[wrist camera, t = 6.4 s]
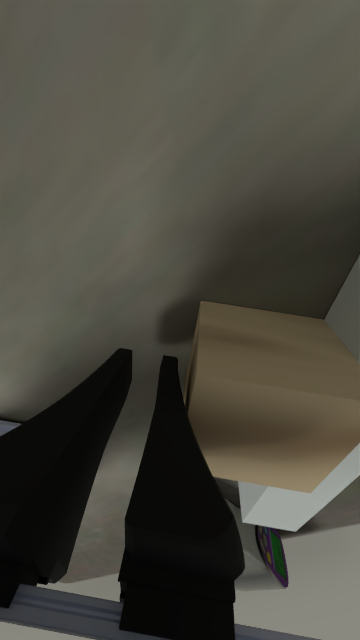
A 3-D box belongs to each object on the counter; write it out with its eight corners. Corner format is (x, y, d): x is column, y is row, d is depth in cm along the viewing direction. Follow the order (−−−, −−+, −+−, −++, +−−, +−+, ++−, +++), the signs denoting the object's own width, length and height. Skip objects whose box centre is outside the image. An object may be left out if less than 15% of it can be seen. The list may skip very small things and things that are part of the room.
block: (280, 400, 14) (310, 493, 10) (184, 384, 14) (175, 470, 10) (323, 319, 11) (395, 406, 7) (200, 300, 11) (196, 374, 7)
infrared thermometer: (193, 459, 21) (288, 530, 25) (118, 491, 27) (206, 546, 30) (186, 520, 17) (301, 594, 21) (100, 543, 23) (203, 599, 26)
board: (284, 486, 20) (295, 531, 17) (237, 477, 20) (242, 522, 17) (516, 198, 8) (661, 208, 5) (399, 182, 8) (487, 183, 5)
